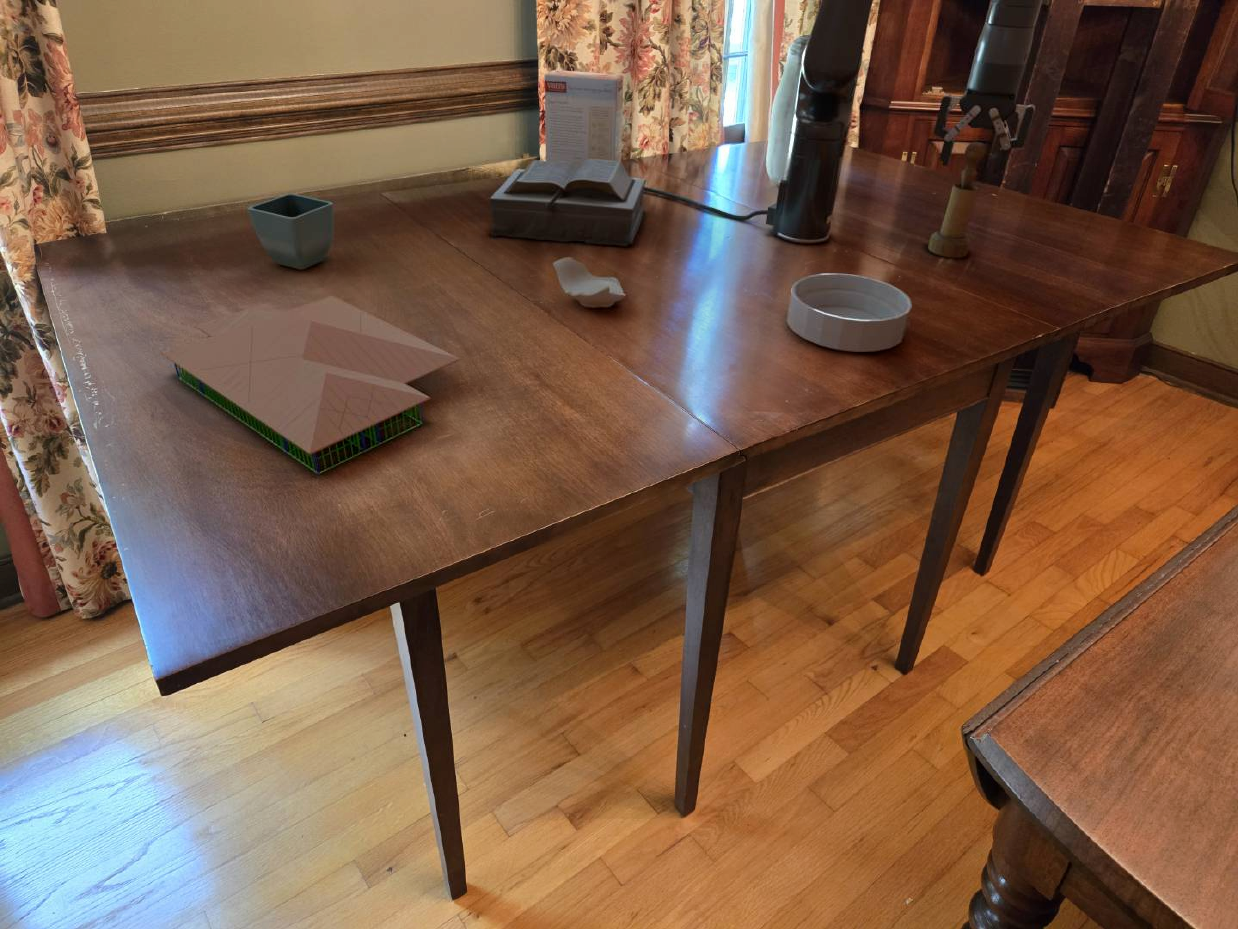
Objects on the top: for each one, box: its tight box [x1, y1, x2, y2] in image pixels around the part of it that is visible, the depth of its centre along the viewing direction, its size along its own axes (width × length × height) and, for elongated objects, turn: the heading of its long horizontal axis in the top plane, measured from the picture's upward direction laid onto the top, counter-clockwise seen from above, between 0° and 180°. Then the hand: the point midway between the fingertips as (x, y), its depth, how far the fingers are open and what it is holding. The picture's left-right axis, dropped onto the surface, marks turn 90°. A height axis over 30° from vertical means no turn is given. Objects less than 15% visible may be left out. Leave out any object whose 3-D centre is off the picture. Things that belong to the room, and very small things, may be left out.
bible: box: [489, 159, 647, 247], centre depth 144 cm, size 23×27×10 cm
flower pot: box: [247, 193, 334, 271], centre depth 125 cm, size 9×9×9 cm
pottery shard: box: [552, 256, 627, 309], centre depth 118 cm, size 10×11×5 cm
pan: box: [786, 272, 913, 353], centre depth 114 cm, size 16×16×5 cm
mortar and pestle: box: [927, 141, 986, 259], centre depth 138 cm, size 7×6×18 cm
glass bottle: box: [765, 34, 810, 186], centre depth 163 cm, size 10×10×28 cm
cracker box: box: [544, 69, 624, 166], centre depth 159 cm, size 14×6×21 cm, turn 77°
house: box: [160, 295, 461, 475], centre depth 95 cm, size 23×33×8 cm
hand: (970, 168), depth 135 cm, fingers open, 7 cm apart
